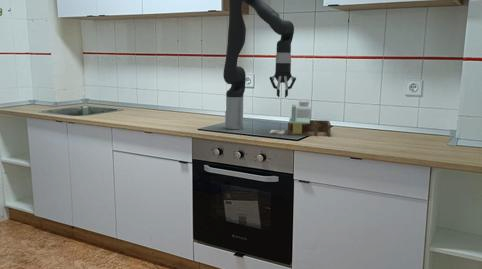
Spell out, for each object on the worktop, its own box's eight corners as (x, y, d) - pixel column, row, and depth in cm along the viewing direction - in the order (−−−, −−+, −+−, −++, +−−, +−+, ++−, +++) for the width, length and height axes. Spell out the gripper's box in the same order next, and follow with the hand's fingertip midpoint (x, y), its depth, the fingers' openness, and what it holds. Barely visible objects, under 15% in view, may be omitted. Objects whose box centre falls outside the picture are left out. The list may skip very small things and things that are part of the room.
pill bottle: (299, 127, 252) (300, 100, 250) (312, 128, 248) (313, 101, 246) (293, 129, 246) (294, 101, 243) (307, 130, 242) (308, 102, 239)
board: (268, 136, 223) (268, 122, 222) (270, 131, 236) (270, 118, 235) (330, 138, 219) (330, 124, 218) (328, 134, 232) (329, 120, 231)
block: (292, 133, 226) (292, 122, 225) (292, 131, 230) (293, 121, 229) (301, 133, 225) (302, 122, 224) (301, 132, 230) (302, 121, 229)
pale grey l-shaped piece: (289, 123, 221) (289, 107, 219) (289, 119, 233) (290, 104, 232) (309, 123, 220) (310, 107, 218) (309, 119, 232) (310, 104, 231)
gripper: (268, 62, 219) (267, 97, 223) (297, 62, 218) (296, 98, 221) (269, 61, 227) (268, 96, 230) (297, 62, 225) (296, 96, 228)
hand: (282, 97), depth 225 cm, fingers open, 3 cm apart
